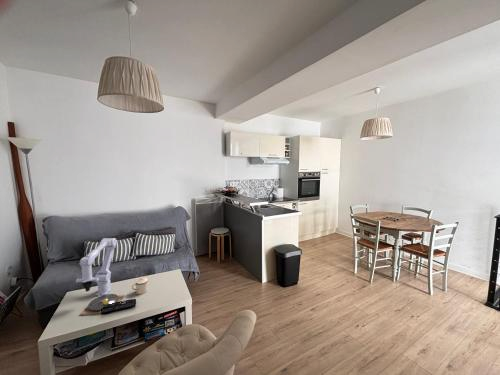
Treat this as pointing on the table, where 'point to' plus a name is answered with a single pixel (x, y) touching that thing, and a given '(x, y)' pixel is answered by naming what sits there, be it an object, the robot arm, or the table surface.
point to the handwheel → (102, 302)
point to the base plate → (89, 312)
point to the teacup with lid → (141, 286)
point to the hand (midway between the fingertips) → (88, 290)
